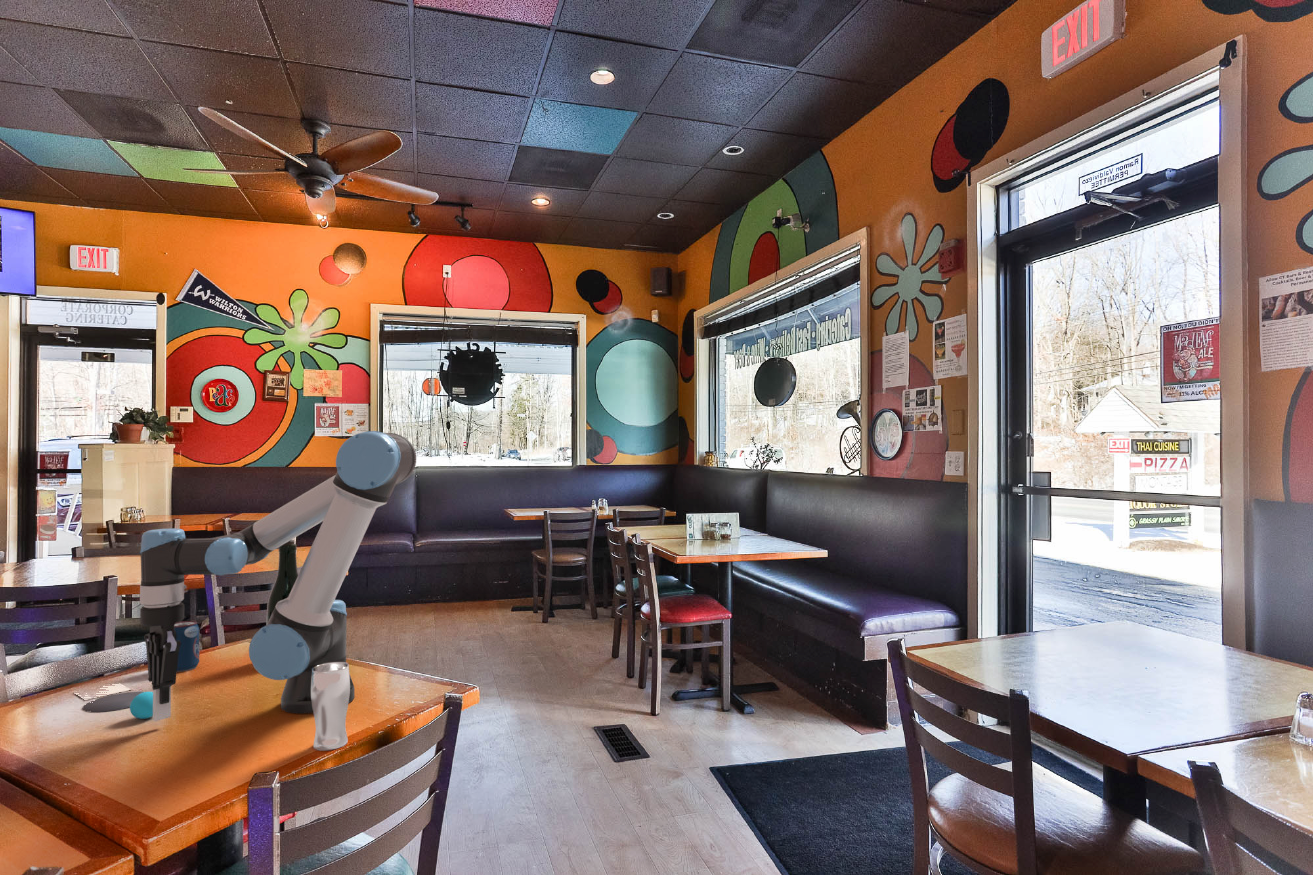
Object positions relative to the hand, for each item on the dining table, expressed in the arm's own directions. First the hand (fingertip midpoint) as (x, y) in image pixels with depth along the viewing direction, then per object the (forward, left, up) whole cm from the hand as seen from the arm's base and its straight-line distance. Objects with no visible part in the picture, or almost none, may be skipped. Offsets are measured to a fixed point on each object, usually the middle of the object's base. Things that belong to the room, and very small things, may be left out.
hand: (161, 718), depth 148 cm
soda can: (+43, -19, -2) cm, 47 cm away
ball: (+9, 0, +1) cm, 9 cm away
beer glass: (-37, -16, -2) cm, 40 cm away
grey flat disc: (+26, 0, -2) cm, 26 cm away
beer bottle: (+28, -39, -2) cm, 48 cm away
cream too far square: (+38, 0, -2) cm, 38 cm away
